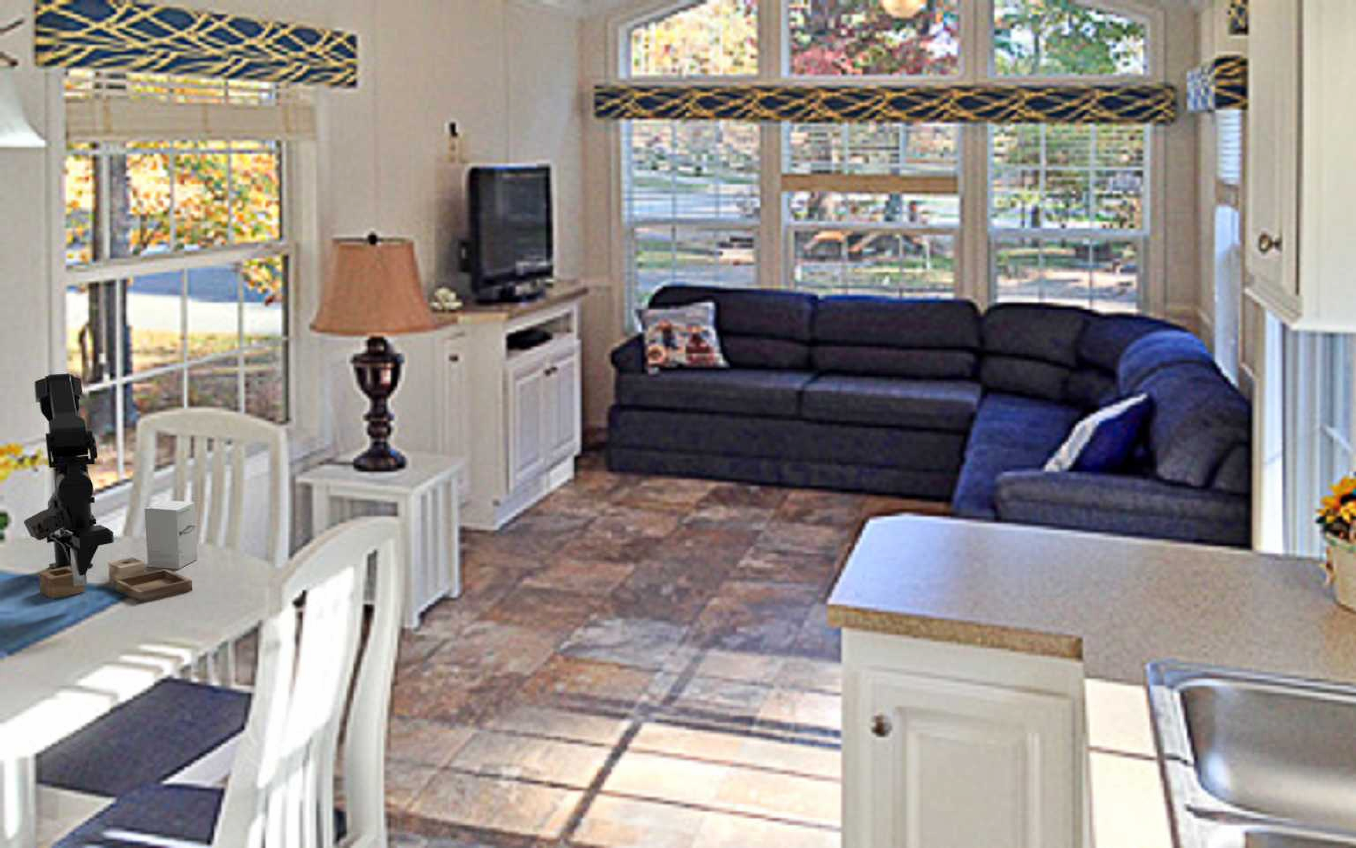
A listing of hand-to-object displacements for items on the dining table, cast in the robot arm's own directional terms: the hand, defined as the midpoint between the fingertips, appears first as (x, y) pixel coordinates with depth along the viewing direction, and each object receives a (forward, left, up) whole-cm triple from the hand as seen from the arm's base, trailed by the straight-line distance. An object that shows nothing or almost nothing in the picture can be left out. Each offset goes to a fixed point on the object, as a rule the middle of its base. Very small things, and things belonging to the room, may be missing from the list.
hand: (79, 573), depth 251 cm
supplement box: (-14, +25, -7) cm, 30 cm away
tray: (0, +14, -6) cm, 15 cm away
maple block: (-9, +13, -7) cm, 17 cm away
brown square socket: (-11, +1, -6) cm, 13 cm away
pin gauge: (0, 0, -2) cm, 2 cm away
